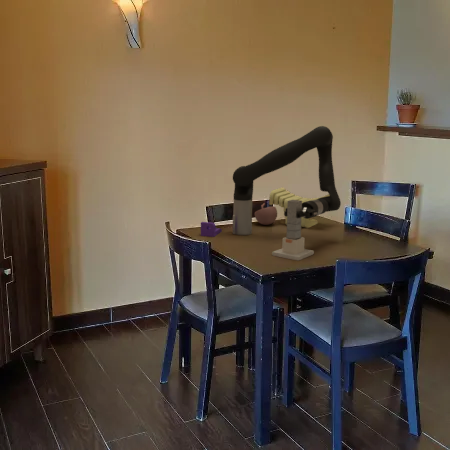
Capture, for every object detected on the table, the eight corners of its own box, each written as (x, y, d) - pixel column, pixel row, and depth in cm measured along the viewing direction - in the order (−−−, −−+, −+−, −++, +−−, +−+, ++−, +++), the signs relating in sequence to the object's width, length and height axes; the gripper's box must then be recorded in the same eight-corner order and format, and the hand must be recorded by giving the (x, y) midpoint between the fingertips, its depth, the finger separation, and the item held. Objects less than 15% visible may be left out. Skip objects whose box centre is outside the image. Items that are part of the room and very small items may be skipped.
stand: (298, 260, 240) (298, 243, 238) (272, 255, 247) (272, 238, 246) (313, 254, 250) (314, 237, 248) (288, 249, 257) (288, 232, 256)
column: (294, 253, 245) (296, 202, 240) (285, 251, 248) (287, 200, 243) (300, 250, 249) (302, 200, 244) (291, 249, 251) (293, 199, 247)
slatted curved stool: (268, 223, 308) (269, 191, 305) (282, 218, 322) (282, 187, 318) (321, 230, 293) (322, 196, 289) (332, 225, 306) (334, 192, 303)
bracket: (214, 237, 280) (214, 223, 278) (200, 236, 282) (200, 222, 280) (221, 232, 291) (221, 218, 289) (208, 231, 293) (208, 217, 291)
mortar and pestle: (267, 221, 315) (267, 200, 313) (281, 225, 306) (282, 204, 303) (249, 224, 308) (250, 202, 306) (264, 228, 299) (264, 206, 296)
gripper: (297, 198, 259) (276, 204, 246) (326, 202, 251) (306, 208, 237) (297, 215, 261) (276, 221, 248) (325, 219, 252) (305, 225, 239)
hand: (291, 214), depth 243 cm, fingers open, 5 cm apart
